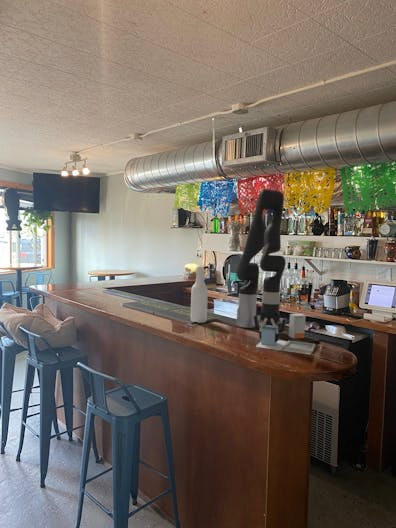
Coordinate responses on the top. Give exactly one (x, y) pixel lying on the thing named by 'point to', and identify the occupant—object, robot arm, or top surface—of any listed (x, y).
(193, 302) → the alcohol
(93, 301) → the top surface
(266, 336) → the blue-grey block
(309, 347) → the board
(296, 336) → the skincare box
